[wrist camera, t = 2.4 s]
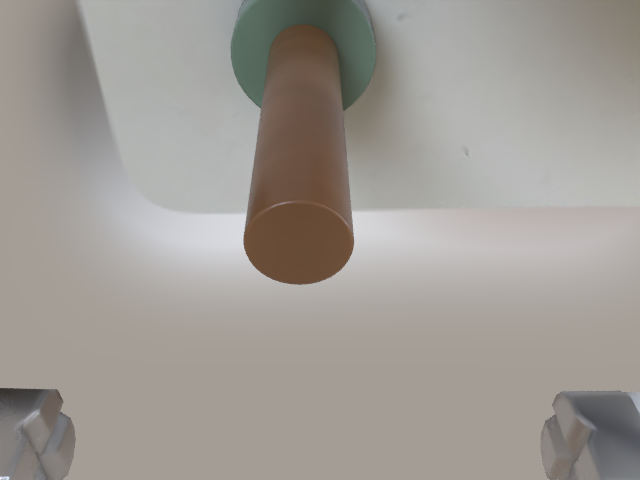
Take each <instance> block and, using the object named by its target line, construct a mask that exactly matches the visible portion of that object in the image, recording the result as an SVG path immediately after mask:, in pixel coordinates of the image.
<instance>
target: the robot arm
mask: <svg viewBox="0 0 640 480" xmlns="http://www.w3.org/2000/svg"><path fill="white" fill-rule="evenodd" d="M62 404H63V400H62V398H61V396H60V394H59V392H58V390H57V389H13V388H0V480H62V479H63V478H64V477H66V476H67V475H68V472H69V469H70V466H71V463H72V460H73V456H74V448H75V430H74V426H73V423H72V421H71V418H70V417H68V416H66V415H65V414H63V413H62V412H60V409H61V407H62ZM552 405H553V408H554V411H555V415H554V416H552V417H551V418H549V419H548V420H546V421H545V424H544V426H543V429H542V432H541V454H542V460H543V465H544V468H545V471H546V475H547V477H548V478H549V479H550V480H640V392H621V391H571V392H570V391H563V392H560V393H559V394H557V395H556V398H555V400H554V402H553V404H552Z"/></svg>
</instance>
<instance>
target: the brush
mask: <svg viewBox="0 0 640 480" xmlns="http://www.w3.org/2000/svg"><path fill="white" fill-rule="evenodd" d="M231 60H232V66H233V70H234V73H235V76H236V78H237V80H238V83H239V84H240V86H241V88H242V89H243V91H244V92H245V93H246V95H247V96H248V97H249V98H250V99H251V100H252V101H253V102H254V103H255V104H256V105H257V106H259V107H260V108H261V114H260V121H259V129H258V136H257V143H256V151H255V158H254V166H253V173H252V180H251V188H250V195H249V202H248V210H247V217H246V225H245V232H244V248H245V251H246V254H247V256H248V258H249V260H250V261H251V263H252V264H253V266H254V267H255V268H256V269H258V270H259V271H260V272H261V273H262V274H264V275H266V276H267V277H269V278H271V279H273V280H276V281H279V282H283V283H288V284H299V285H301V284H311V283H316V282H320V281H322V280H325V279H327V278H329V277H331V276H333V275H335V274H336V273H337V272H339V271H340V270H341V269H342V268H343V267H344V266H345V264H346V263H347V262H348V260H349V258H350V256H351V254H352V251H353V246H354V237H353V224H352V212H351V200H350V188H349V176H348V164H347V152H346V140H345V129H344V117H343V111H344V110H346V109H347V108H348V107H350V106H351V105H352V104H353V103H354V102H355V101H356V100H357V99H358V98H359V97H360V96H361V94H362V93H363V92H364V91H365V89H366V87H367V85H368V84H369V82H370V79H371V77H372V74H373V71H374V67H375V61H376V45H375V38H374V33H373V28H372V24H371V19H370V16H369V12H368V9H367V7H366V5H365V2H364V1H363V0H244V1H243V3H242V5H241V7H240V10H239V13H238V17H237V21H236V25H235V28H234V32H233V36H232V41H231Z"/></svg>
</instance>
